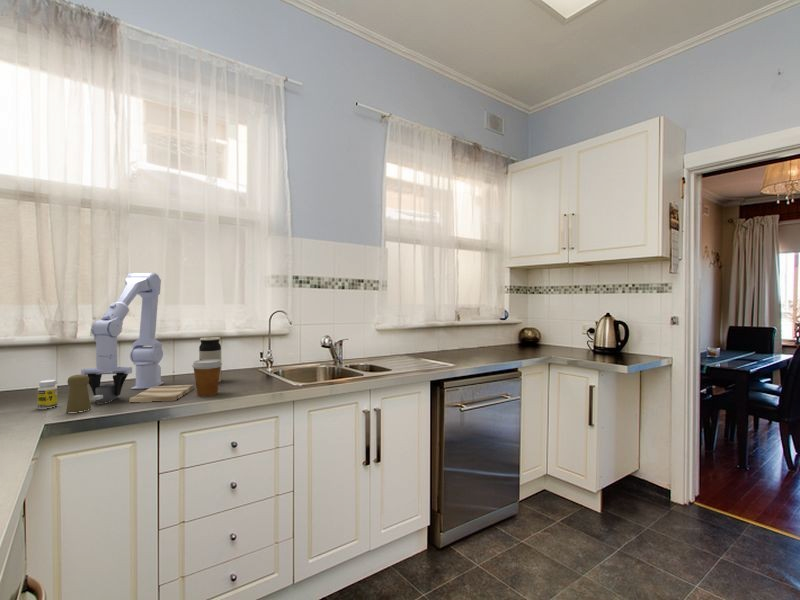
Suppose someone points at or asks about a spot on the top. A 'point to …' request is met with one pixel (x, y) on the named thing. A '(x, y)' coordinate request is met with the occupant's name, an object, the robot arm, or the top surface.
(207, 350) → the travel mug
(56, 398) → the supplement bottle
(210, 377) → the disposable coffee cup
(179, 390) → the wooden board
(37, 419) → the top surface
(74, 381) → the cork
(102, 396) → the connector
